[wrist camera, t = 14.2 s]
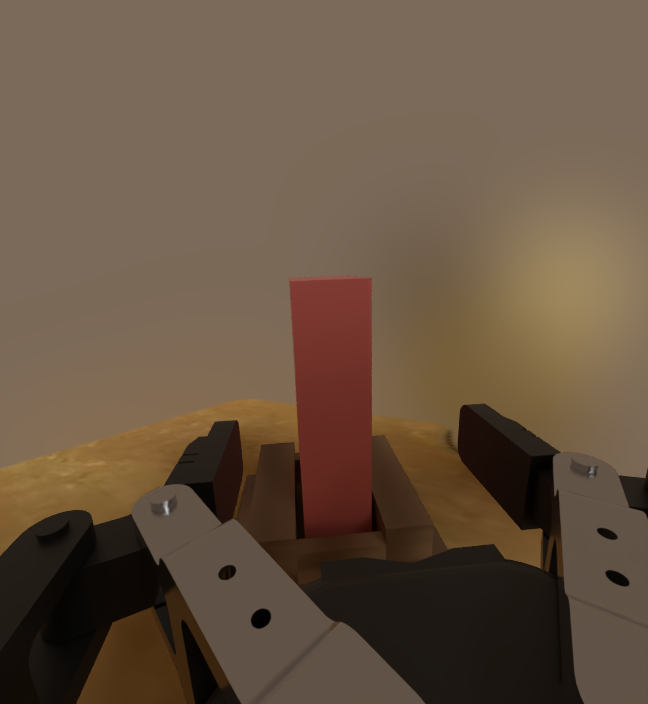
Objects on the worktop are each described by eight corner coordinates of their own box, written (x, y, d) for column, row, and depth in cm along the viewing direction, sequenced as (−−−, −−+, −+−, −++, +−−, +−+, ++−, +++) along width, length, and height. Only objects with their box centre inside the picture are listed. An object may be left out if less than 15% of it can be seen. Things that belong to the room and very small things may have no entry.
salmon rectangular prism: (353, 485, 26) (349, 275, 22) (371, 546, 21) (371, 277, 17) (301, 490, 26) (289, 277, 22) (306, 554, 20) (289, 281, 16)
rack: (399, 474, 29) (400, 431, 28) (459, 591, 19) (464, 528, 18) (248, 488, 28) (243, 443, 27) (222, 620, 18) (212, 554, 17)
